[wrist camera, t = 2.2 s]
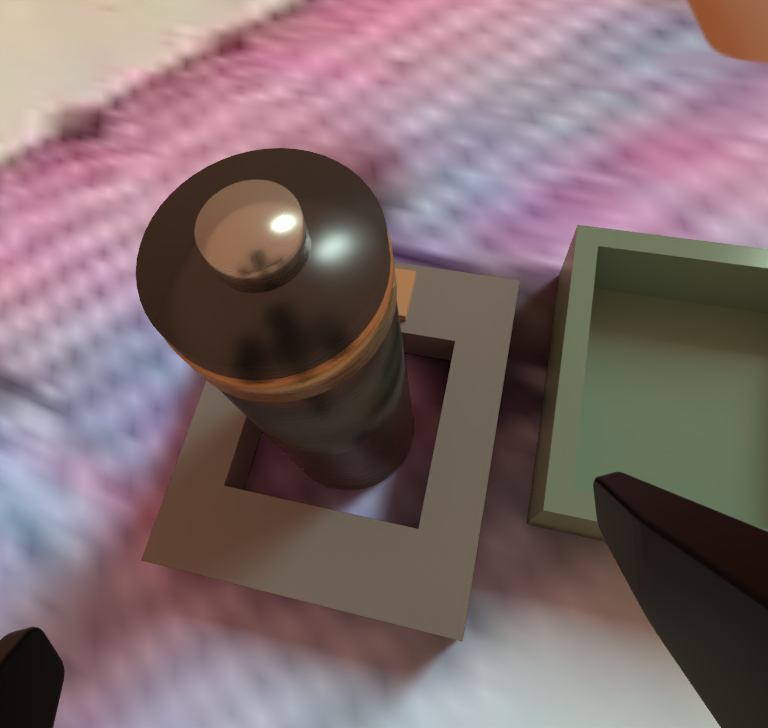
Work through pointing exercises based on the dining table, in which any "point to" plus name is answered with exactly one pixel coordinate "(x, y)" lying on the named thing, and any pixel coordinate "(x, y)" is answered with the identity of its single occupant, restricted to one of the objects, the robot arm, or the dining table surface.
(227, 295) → the battery cell
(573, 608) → the dining table surface
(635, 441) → the cup
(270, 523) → the tester cradle
